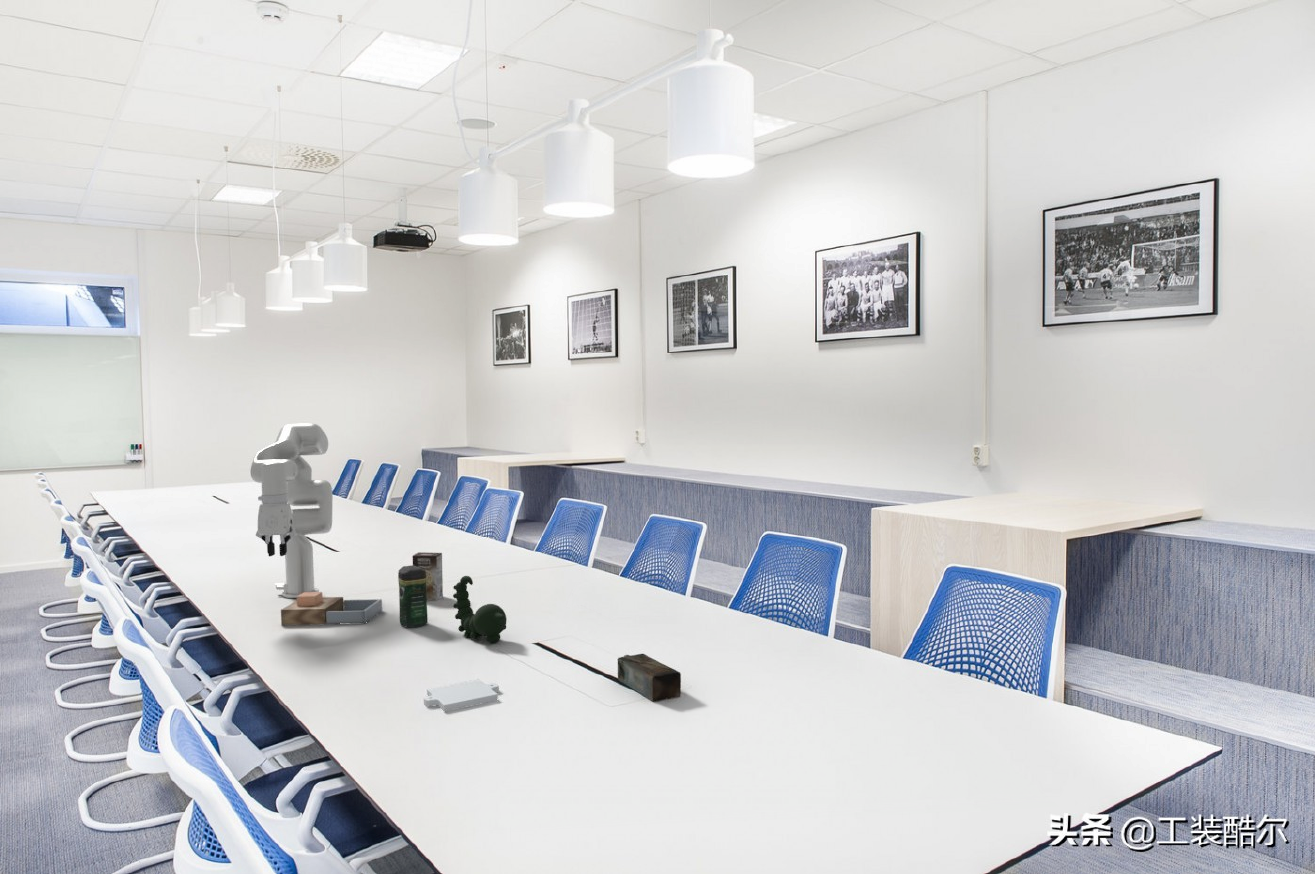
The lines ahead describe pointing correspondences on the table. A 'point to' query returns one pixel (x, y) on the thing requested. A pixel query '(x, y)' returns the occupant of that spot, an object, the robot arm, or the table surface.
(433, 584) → the coffee box
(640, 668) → the dark brown boxy piece
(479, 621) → the toy figurine
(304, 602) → the block
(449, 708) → the mounting plate
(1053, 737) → the table surface
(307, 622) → the platform
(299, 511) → the robot arm
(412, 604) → the coffee jar
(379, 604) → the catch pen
